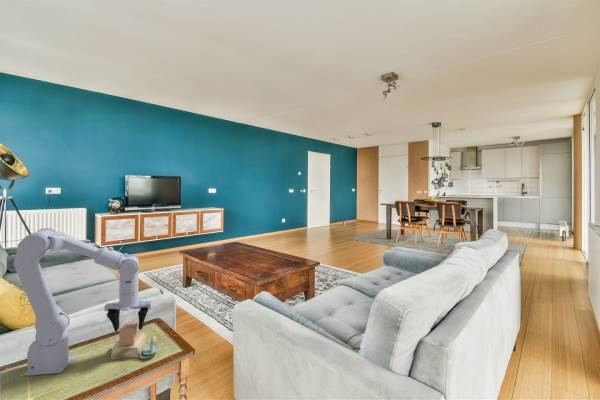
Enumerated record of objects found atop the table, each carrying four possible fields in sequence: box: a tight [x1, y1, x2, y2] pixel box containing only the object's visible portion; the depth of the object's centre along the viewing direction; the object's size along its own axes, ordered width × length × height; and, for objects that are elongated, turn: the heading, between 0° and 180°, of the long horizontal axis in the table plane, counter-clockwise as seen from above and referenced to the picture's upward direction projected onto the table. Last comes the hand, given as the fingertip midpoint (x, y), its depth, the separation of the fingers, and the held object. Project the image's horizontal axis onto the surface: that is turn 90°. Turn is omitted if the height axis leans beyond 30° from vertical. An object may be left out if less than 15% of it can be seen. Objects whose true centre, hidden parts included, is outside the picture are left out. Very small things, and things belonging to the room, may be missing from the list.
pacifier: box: [138, 335, 160, 360], centre depth 99 cm, size 7×6×6 cm
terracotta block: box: [118, 321, 139, 346], centre depth 99 cm, size 4×4×6 cm
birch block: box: [111, 334, 146, 360], centre depth 100 cm, size 8×8×4 cm
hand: (129, 329), depth 99 cm, fingers open, 7 cm apart
